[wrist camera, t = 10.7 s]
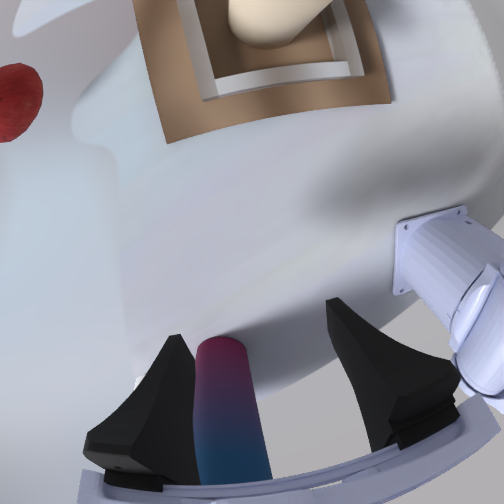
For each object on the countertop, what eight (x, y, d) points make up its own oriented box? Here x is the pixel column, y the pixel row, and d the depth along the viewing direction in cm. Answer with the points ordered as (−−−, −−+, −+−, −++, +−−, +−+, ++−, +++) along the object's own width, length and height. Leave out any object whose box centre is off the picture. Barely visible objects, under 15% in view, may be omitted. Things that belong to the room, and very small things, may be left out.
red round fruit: (43, 146, 16) (-26, 170, 8) (5, 121, 14) (-60, 138, 7) (73, 79, 14) (4, 72, 7) (31, 59, 12) (-34, 54, 5)
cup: (191, 324, 24) (179, 484, 11) (263, 334, 26) (289, 485, 12) (185, 369, 27) (178, 499, 14) (246, 375, 28) (261, 502, 15)
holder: (339, -43, 10) (353, -58, 7) (384, 103, 17) (406, 103, 14) (132, -16, 11) (120, -31, 8) (170, 142, 17) (160, 147, 14)
